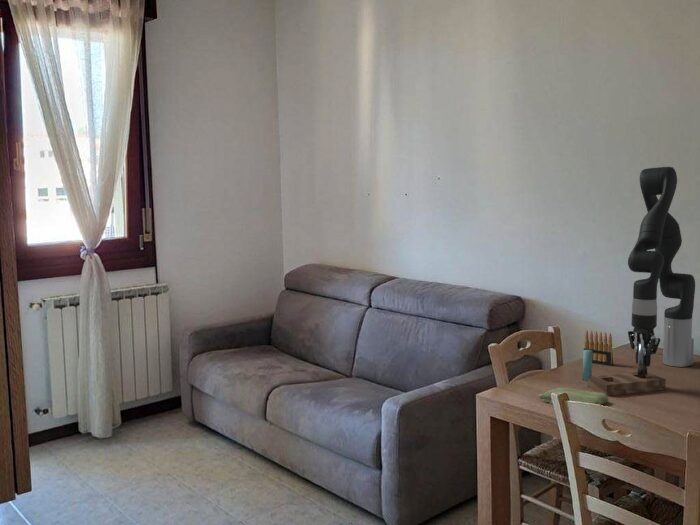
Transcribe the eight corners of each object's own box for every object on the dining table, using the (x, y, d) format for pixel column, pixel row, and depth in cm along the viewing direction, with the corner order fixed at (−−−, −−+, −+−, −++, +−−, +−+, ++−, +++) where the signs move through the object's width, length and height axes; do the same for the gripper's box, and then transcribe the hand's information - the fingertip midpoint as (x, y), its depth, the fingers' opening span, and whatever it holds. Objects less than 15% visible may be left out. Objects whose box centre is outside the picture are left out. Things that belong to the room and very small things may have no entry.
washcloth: (556, 393, 232) (556, 383, 232) (610, 403, 220) (610, 393, 220) (536, 402, 222) (536, 392, 222) (592, 414, 211) (592, 403, 210)
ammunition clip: (613, 365, 263) (613, 332, 262) (611, 366, 262) (611, 333, 261) (584, 360, 270) (585, 329, 269) (582, 361, 269) (583, 330, 268)
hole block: (645, 381, 241) (645, 371, 241) (665, 389, 232) (665, 379, 231) (588, 387, 236) (588, 376, 236) (606, 395, 226) (606, 385, 226)
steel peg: (643, 372, 237) (644, 342, 235) (649, 374, 234) (650, 344, 233) (635, 373, 236) (636, 343, 235) (641, 375, 233) (642, 345, 232)
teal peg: (588, 378, 247) (589, 349, 245) (593, 380, 244) (594, 351, 243) (580, 378, 246) (581, 350, 245) (585, 381, 243) (586, 352, 242)
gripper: (669, 315, 227) (667, 369, 229) (640, 308, 240) (638, 359, 242) (648, 316, 225) (646, 371, 227) (620, 309, 238) (619, 360, 240)
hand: (642, 364), depth 234 cm, fingers closed on steel peg, 3 cm apart
